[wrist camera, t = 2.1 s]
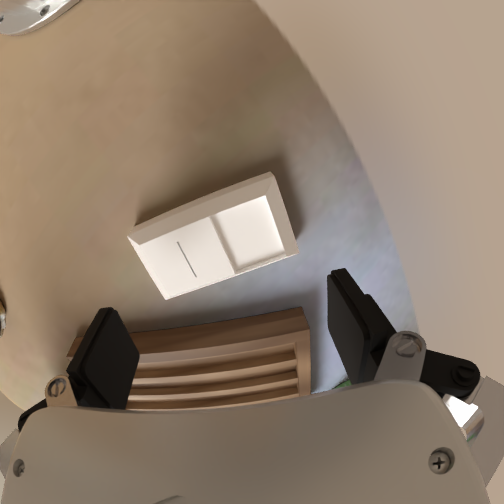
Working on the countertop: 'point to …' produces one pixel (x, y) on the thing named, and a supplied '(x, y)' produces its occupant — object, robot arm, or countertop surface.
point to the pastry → (2, 319)
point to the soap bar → (216, 236)
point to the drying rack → (221, 363)
